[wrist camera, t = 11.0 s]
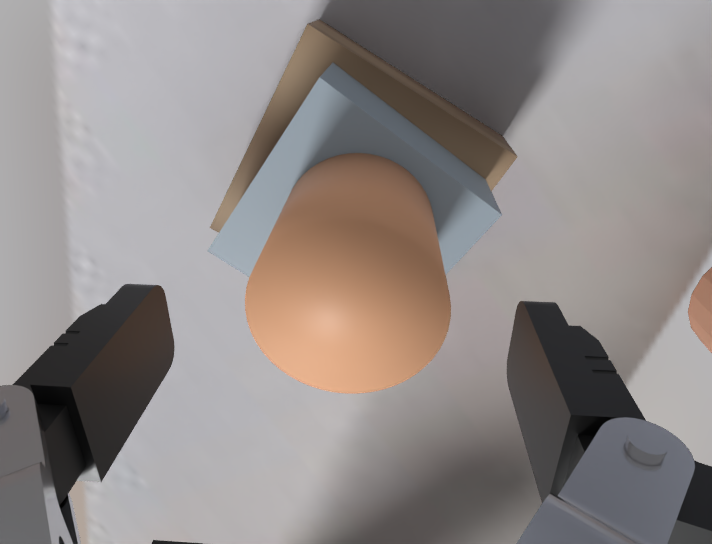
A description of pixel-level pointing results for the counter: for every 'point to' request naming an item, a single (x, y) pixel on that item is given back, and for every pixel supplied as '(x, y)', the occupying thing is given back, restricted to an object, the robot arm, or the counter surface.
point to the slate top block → (357, 135)
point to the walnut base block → (385, 81)
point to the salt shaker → (702, 310)
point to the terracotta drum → (351, 278)
